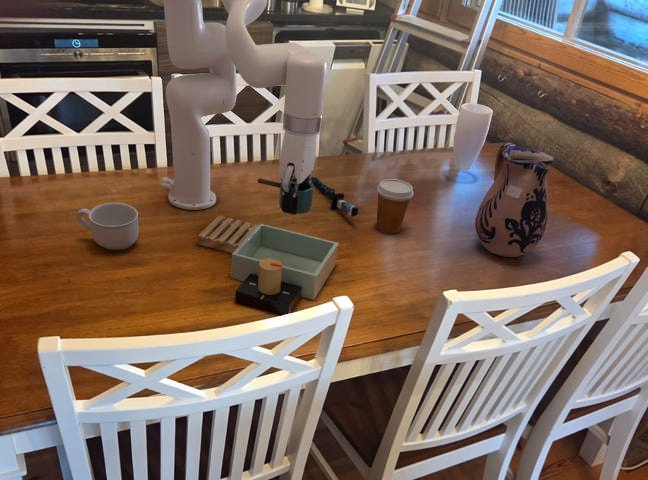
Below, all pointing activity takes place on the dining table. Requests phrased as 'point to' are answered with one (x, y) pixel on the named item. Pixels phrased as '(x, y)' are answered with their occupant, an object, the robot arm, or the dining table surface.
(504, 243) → the ceramic pitcher
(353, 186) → the dining table surface
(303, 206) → the pan
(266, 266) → the tap knob
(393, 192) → the disposable coffee cup
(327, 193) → the knife
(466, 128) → the white vase
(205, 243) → the rack
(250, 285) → the black dial base
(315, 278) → the pale green open box
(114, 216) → the teacup
